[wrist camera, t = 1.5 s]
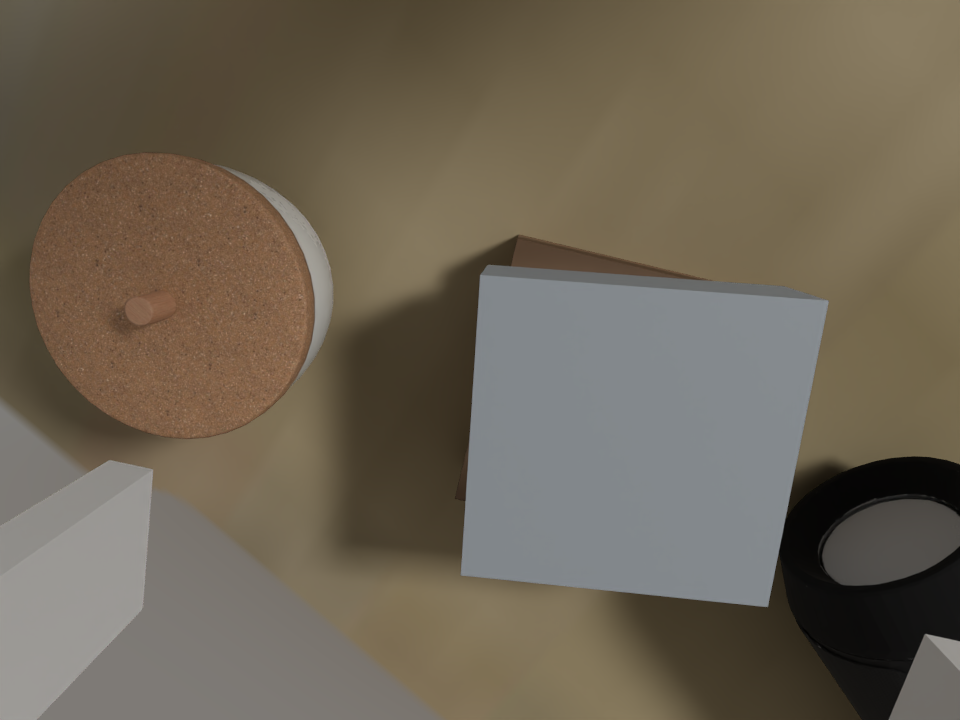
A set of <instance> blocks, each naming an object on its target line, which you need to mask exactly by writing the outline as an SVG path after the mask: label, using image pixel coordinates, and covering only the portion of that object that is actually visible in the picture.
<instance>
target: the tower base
mask: <svg viewBox="0 0 960 720" xmlns="http://www.w3.org/2000/svg"><path fill="white" fill-rule="evenodd" d="M511 266H512V267H526V268H540V269H553V270H567V271H581V272H595V273H608V274H622V275H636V276H649V277H663V278H677V279H691V280H704V281H712V280H708V279H703V278H699V277H695V276H691V275H687V274H683V273H678V272H674V271H670V270H666V269H662V268H657V267H653V266H649V265H645V264H641V263H636V262H632V261H628V260H624V259H620V258H615V257H611V256H607V255H603V254H599V253H594V252H590V251H586V250H582V249H578V248H574V247H569V246H565V245H561V244H557V243H553V242H548V241H544V240H540V239H536V238H532V237H527V236H523V235H519V236H518V238H517V243H516V247H515V251H514V255H513V259H512V263H511ZM469 441H470V438H469ZM468 456H469V442H468V446H467V450H466V454H465V459H464V463H463V467H462V471H461V475H460V479H459V483H458V488H457V492H456V496H455V499H459V500H463V501H466V487H467V472H468Z"/></svg>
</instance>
